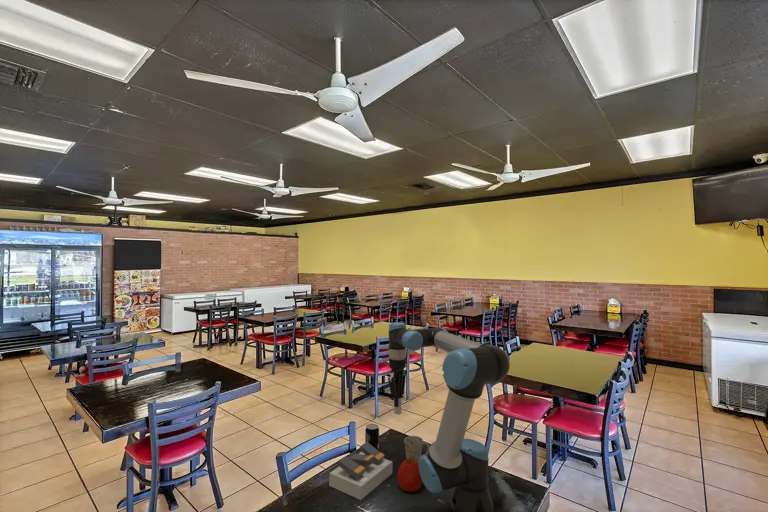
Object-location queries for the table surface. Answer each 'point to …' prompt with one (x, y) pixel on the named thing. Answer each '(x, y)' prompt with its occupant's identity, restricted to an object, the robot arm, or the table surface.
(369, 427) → the beverage can
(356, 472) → the rocker left
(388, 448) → the table surface
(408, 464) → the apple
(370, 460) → the rocker mid
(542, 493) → the table surface
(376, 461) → the rocker right
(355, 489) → the switch unit
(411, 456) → the mug
